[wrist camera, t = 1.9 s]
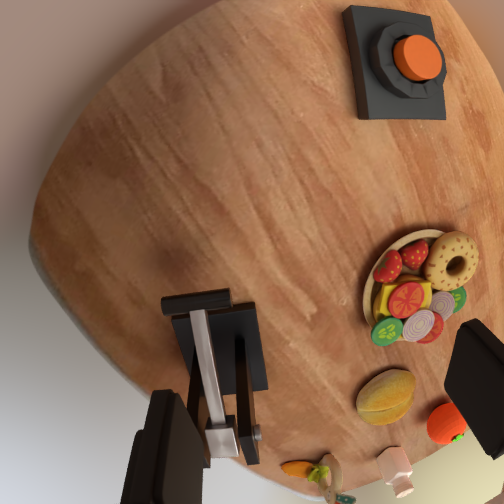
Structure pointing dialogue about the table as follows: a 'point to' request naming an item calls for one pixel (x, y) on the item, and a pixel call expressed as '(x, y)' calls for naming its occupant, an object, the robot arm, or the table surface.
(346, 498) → the rattle
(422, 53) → the button
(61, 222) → the table surface
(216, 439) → the lever
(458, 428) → the clementine
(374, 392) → the bread roll
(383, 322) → the toy food set
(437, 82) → the control block
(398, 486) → the salt shaker
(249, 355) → the bracket
